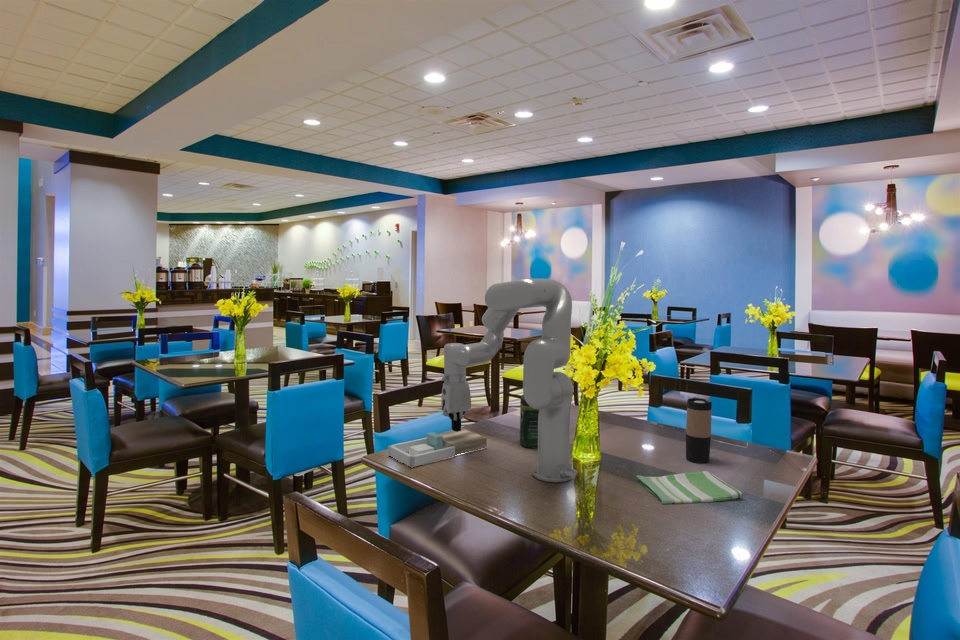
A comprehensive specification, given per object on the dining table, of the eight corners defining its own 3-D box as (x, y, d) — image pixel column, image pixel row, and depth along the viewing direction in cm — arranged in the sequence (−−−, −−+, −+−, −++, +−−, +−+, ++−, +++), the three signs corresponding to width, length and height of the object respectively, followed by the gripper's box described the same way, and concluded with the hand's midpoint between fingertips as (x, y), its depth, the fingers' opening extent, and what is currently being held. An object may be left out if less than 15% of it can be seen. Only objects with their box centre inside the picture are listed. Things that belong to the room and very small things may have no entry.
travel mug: (683, 461, 172) (685, 401, 170) (686, 454, 178) (688, 397, 177) (709, 465, 168) (711, 404, 167) (710, 458, 175) (713, 399, 173)
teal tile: (442, 436, 177) (436, 437, 175) (442, 453, 177) (436, 454, 176) (432, 432, 181) (426, 433, 180) (433, 449, 182) (426, 450, 180)
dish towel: (634, 481, 156) (635, 472, 156) (708, 478, 159) (709, 469, 158) (662, 506, 138) (662, 496, 138) (744, 502, 141) (745, 493, 141)
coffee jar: (544, 448, 185) (545, 396, 183) (522, 448, 184) (523, 397, 183) (539, 440, 194) (539, 390, 193) (518, 440, 194) (518, 391, 192)
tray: (455, 457, 175) (455, 447, 175) (411, 468, 164) (411, 457, 164) (430, 446, 186) (430, 436, 186) (388, 455, 176) (388, 445, 176)
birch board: (486, 448, 184) (486, 437, 184) (454, 456, 175) (454, 445, 175) (462, 439, 195) (462, 428, 195) (431, 446, 186) (431, 435, 186)
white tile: (418, 451, 171) (418, 458, 172) (433, 447, 175) (434, 455, 175) (409, 446, 176) (409, 454, 176) (424, 443, 180) (424, 450, 180)
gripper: (443, 382, 174) (445, 436, 175) (478, 377, 184) (479, 428, 185) (431, 380, 180) (432, 432, 181) (465, 375, 190) (466, 424, 191)
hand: (456, 430), depth 183 cm, fingers closed
